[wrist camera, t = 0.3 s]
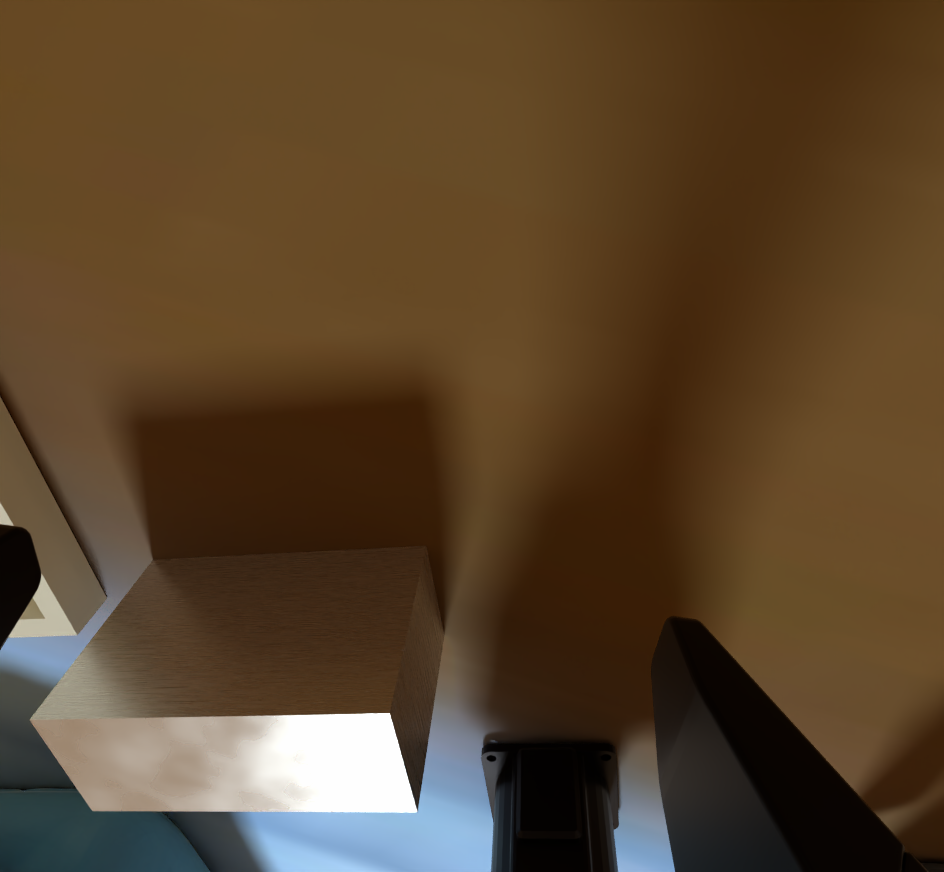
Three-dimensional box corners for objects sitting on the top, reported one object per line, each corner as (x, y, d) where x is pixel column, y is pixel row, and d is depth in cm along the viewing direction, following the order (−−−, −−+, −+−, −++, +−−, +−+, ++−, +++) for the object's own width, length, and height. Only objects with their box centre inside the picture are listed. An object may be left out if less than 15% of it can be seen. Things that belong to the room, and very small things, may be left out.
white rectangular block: (444, 633, 29) (417, 812, 22) (192, 641, 30) (92, 811, 23) (426, 544, 26) (389, 713, 19) (154, 558, 28) (29, 719, 21)
